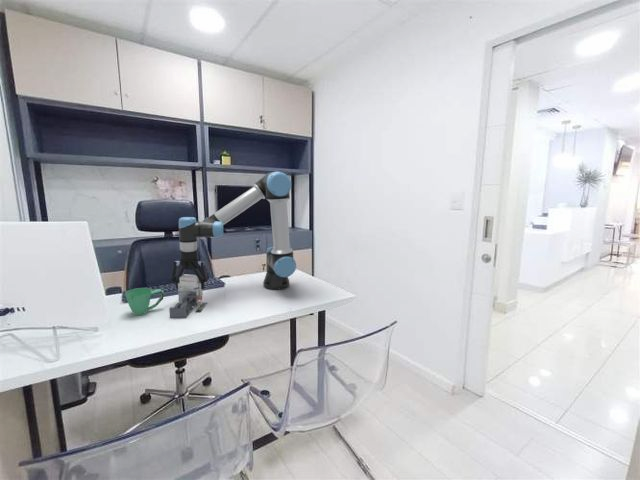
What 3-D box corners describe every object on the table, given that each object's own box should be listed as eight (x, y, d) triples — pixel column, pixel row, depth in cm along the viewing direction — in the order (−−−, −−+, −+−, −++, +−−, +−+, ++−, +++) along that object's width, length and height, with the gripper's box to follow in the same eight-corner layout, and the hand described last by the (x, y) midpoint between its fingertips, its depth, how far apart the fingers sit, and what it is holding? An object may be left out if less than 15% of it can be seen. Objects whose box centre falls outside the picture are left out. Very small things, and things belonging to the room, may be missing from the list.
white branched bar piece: (203, 305, 142) (203, 291, 141) (198, 312, 134) (197, 297, 133) (179, 304, 141) (179, 291, 140) (173, 312, 133) (172, 297, 132)
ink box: (202, 297, 147) (201, 274, 144) (196, 301, 142) (195, 277, 139) (185, 296, 147) (184, 273, 145) (179, 300, 142) (178, 276, 140)
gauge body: (207, 302, 145) (207, 294, 145) (196, 318, 129) (196, 308, 128) (183, 302, 144) (183, 294, 144) (169, 318, 128) (169, 308, 127)
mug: (128, 319, 125) (126, 297, 123) (126, 311, 133) (124, 290, 131) (166, 312, 134) (165, 291, 132) (162, 304, 142) (161, 284, 140)
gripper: (214, 248, 145) (215, 292, 149) (167, 248, 142) (170, 292, 147) (210, 252, 137) (211, 298, 141) (161, 251, 135) (164, 298, 139)
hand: (190, 295), depth 144 cm, fingers closed on ink box, 9 cm apart
